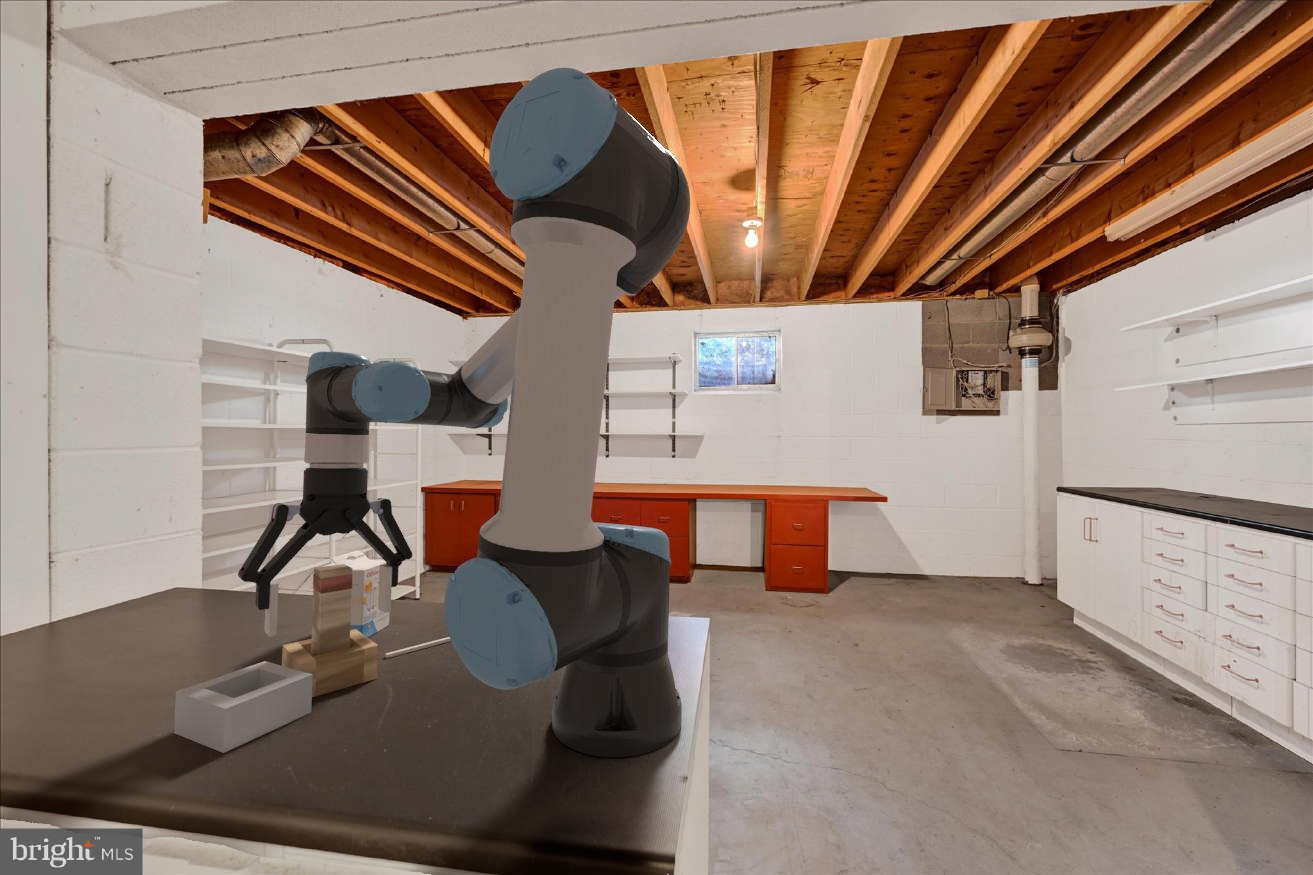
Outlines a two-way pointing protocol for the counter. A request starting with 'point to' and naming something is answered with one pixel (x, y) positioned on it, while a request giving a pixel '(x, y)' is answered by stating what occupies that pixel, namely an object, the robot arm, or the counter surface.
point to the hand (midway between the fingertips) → (331, 621)
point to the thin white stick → (417, 647)
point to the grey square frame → (242, 705)
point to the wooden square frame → (334, 663)
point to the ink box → (364, 593)
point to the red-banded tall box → (331, 609)
